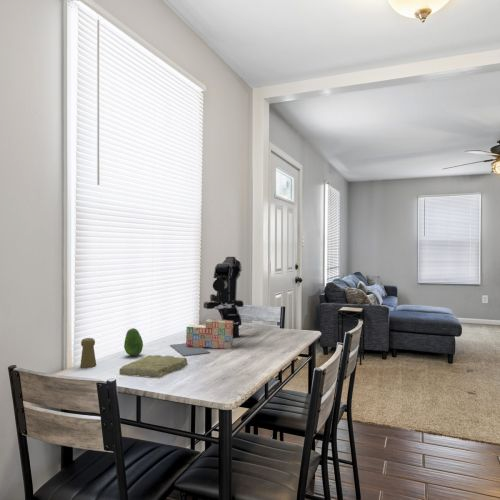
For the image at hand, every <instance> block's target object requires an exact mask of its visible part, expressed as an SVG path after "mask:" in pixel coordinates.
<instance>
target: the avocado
mask: <svg viewBox="0 0 500 500" xmlns="http://www.w3.org/2000/svg"><path fill="white" fill-rule="evenodd" d="M123 347H124V351H125V352H126V354H128V355H129V356H133V357H134V356H135V357H136V356H139V355H140V354H141V353H142V352H143V347H144V342H143V339H142V336H141V334H140V332H139V330H137V329H136V328H134V327H133V328H130V329H128V330H127V332H126V333H125V338H124V345H123Z"/></svg>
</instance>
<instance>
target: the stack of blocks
mask: <svg viewBox="0 0 500 500" xmlns="http://www.w3.org/2000/svg"><path fill="white" fill-rule="evenodd" d="M185 339H186V341H185V343H186V346H193V347H202V348H213V349H229V350H231V349H232V347H233V339H234V338H233V321H230V320H222V319H211V318H208V319H207V320H205V325H203V324H189V325H187V326H186V337H185Z"/></svg>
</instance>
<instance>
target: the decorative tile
mask: <svg viewBox="0 0 500 500" xmlns="http://www.w3.org/2000/svg"><path fill="white" fill-rule="evenodd" d="M187 365H188V359H187V357H179V356H177V357H175V356H174V355H164V356H163V355H157V354H154V355H147V356H145V357H142V358H138V359H136V360H134V361H132V362H130V363H128V364H124V365H122V366H121V367H120V368H119V375H122V374H123V375H124V376H133V375H139V376H138V377H143V376H150V377H149V378H155V377H161V378H162V376H163V377H164V376H165V375H167V373H168V374H171V373H172V371H173V372H176V371H178V370H181V368H183V367H186V366H187ZM170 372H171V373H170Z"/></svg>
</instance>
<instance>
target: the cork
mask: <svg viewBox="0 0 500 500" xmlns="http://www.w3.org/2000/svg"><path fill="white" fill-rule="evenodd" d="M95 343H96V341H95V339H94V338H93V337H86V338H83V339H81V342H80V346H81V347H82V349H81V357H80V365H79V367H80V368H81V369H90V368H95V367H97V361H96V360H97V359H96V354H95V347H94V346H95Z"/></svg>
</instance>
